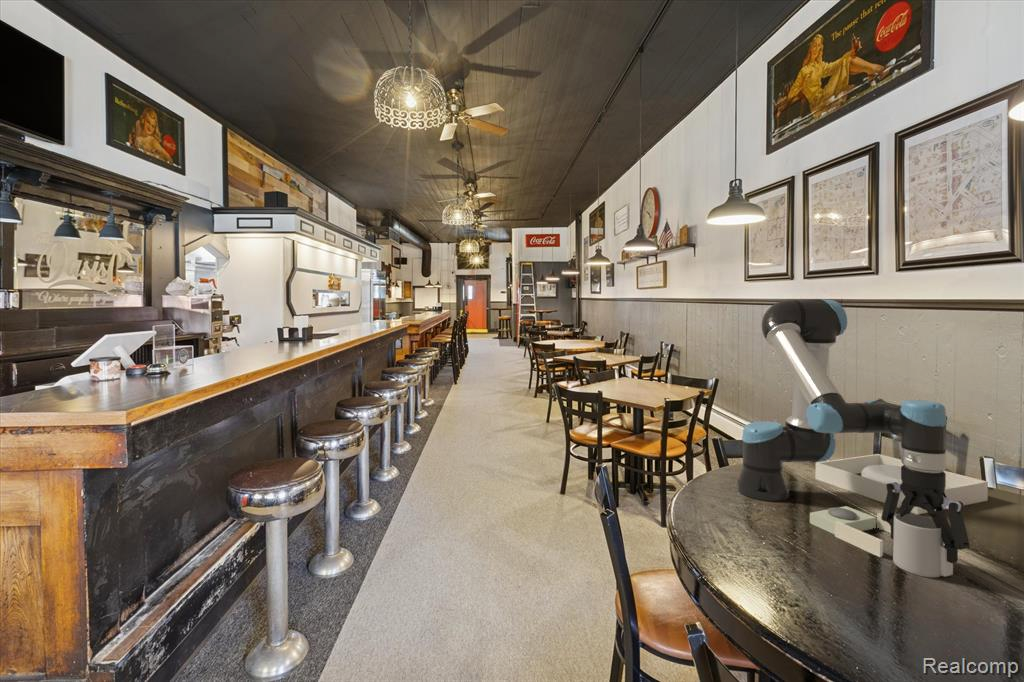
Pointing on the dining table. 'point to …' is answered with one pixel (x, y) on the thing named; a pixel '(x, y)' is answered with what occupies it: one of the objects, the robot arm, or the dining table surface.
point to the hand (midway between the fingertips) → (922, 564)
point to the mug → (917, 545)
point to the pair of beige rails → (852, 527)
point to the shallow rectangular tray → (846, 478)
